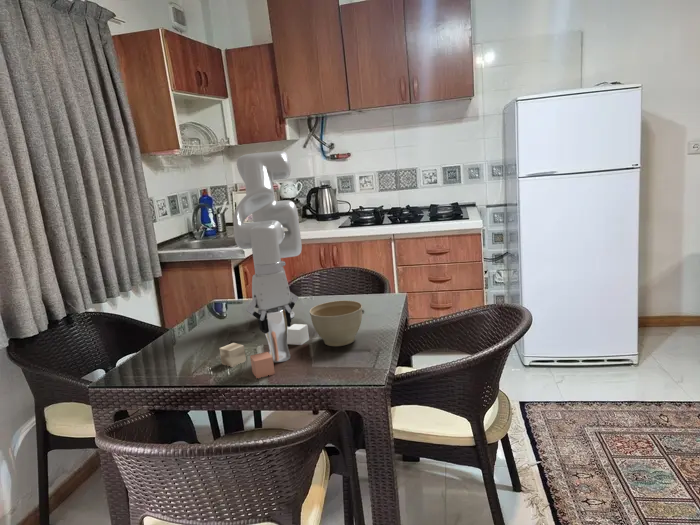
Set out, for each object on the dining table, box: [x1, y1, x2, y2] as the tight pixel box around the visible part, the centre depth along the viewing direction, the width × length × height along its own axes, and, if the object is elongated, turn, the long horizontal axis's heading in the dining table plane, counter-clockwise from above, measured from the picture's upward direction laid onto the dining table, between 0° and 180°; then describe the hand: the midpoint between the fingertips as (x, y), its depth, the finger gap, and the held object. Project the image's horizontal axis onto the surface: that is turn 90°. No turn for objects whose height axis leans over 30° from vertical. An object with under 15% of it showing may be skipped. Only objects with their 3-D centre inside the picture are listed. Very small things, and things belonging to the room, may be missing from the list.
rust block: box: [249, 351, 276, 379], centre depth 143 cm, size 5×5×5 cm
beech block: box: [219, 342, 247, 368], centre depth 153 cm, size 5×5×5 cm
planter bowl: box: [309, 300, 363, 347], centre depth 162 cm, size 16×16×11 cm
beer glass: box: [264, 306, 291, 363], centre depth 152 cm, size 7×7×15 cm
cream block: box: [287, 323, 310, 346], centre depth 166 cm, size 5×5×5 cm
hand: (276, 328), depth 151 cm, fingers closed on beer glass, 6 cm apart
